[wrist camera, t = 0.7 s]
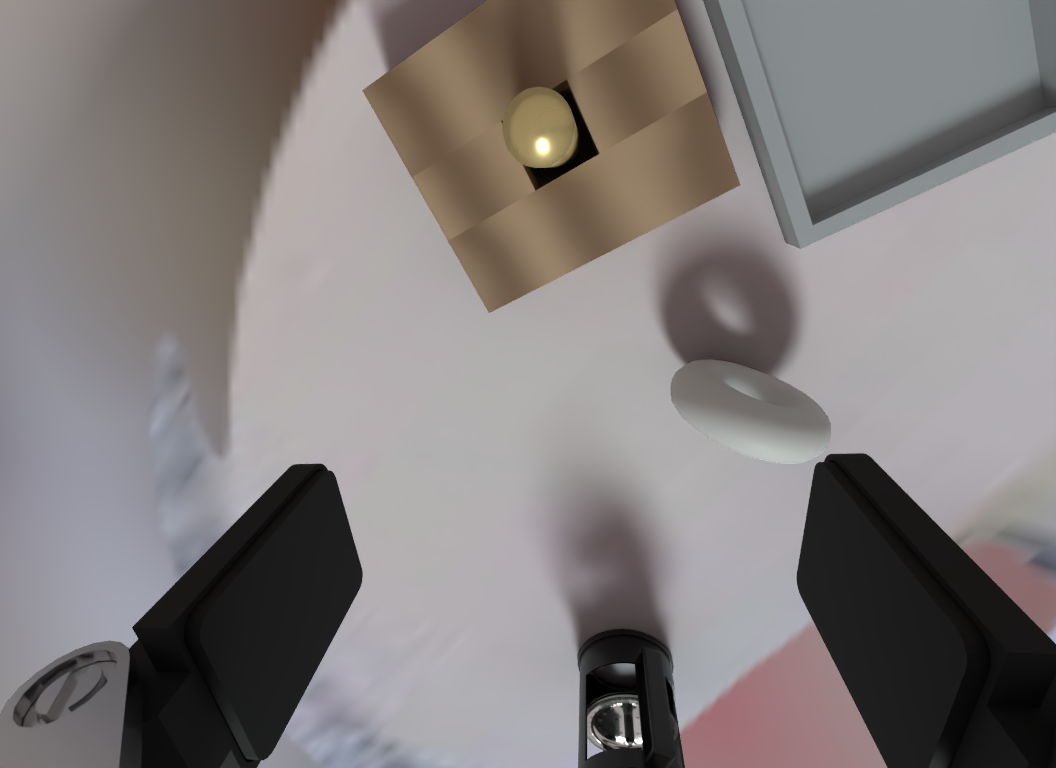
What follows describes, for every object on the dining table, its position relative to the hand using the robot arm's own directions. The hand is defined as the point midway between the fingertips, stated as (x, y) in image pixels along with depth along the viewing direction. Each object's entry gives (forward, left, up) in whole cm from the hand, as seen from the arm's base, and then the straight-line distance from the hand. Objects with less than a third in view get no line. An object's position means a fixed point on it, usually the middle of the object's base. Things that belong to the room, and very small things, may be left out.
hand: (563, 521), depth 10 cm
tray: (-20, -4, -27) cm, 34 cm away
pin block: (-2, -8, -27) cm, 28 cm away
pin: (-2, -8, -27) cm, 28 cm away
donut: (-6, +12, -27) cm, 30 cm away
